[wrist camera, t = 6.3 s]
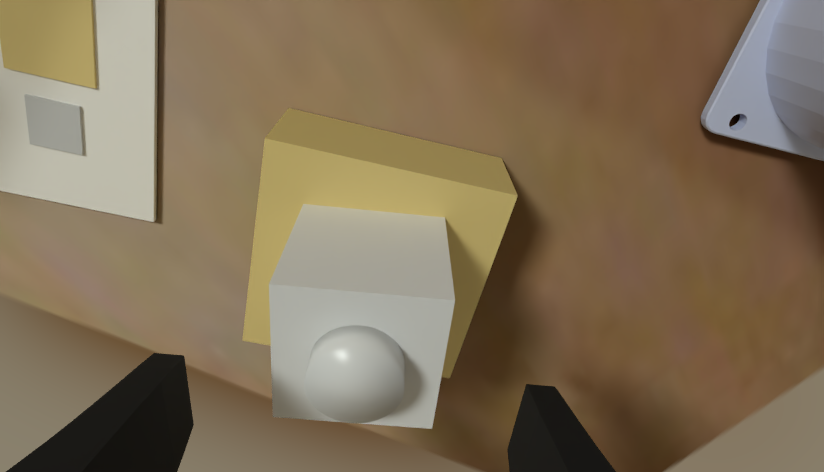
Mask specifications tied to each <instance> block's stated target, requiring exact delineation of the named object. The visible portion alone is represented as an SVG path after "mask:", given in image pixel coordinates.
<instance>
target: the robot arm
mask: <svg viewBox="0 0 824 472" xmlns="http://www.w3.org/2000/svg"><path fill="white" fill-rule="evenodd" d="M737 114H740V118H739V121H738V122H737V123H736V124H735V125H733V126H731V127H730V126H729V122H730V120H731V119H732V117H733V116H735V115H737ZM701 124H702V125H703V127H704V128H705V129H707V130H709V131H711V132H712V133H715V134H719V135H722V136H726V137H730V138H734V139H738V140H742V141H746V142H750V143H754V144H758V145H762V146H766V147H770V148H774V149H778V150H782V151H786V152H789V153H793V154H797V155H801V156H805V157H809V158H813V159H817V160H821V161H824V0H760V2H759V3H758V5H757V7H756V9H755V11H754V13H753V15H752V17H751V19H750V21H749V23H748V25H747V27H746V29H745V31H744V33H743V34H742V36H741V38H740V40H739V42H738V44H737V46H736V48H735V50H734V52H733V54H732V56H731V58H730V60H729V62H728V64H727V65H726V67H725V69H724V71H723V73H722V75H721V77H720V79H719V81H718V83H717V85H716V87H715V89H714V91H713V93H712V95H711V96H710V98H709V100H708V102H707V104H706V106H705V108H704V110H703V112H702V116H701ZM192 428H193V417H192V410H191V403H190V396H189V388H188V381H187V374H186V366H185V359H184V356H182V355H171V354H159V353H154V354H153V355H151V356H150V357H149V358H147V360H145V361H144V362H143V363H141V364H140V365H139V366H138V367H137V368H136V369H134V370H133V371H132V372H131V373H129V374H128V375H127V376H126V377H125V378H124V379H123V380H121V381H120V382H119V383H118V384H116V385H115V386H114V387H113V388H112V389H111V390H109V391H108V392H107V393H106V394H105V395H103V396H102V397H101V398H100V399H99V400H98V401H96V402H95V403H94V404H93V405H91V406H90V407H89V408H88V409H86V410H85V411H84V412H83V413H81V414H80V415H79V416H78V417H77V418H76V419H74V420H73V421H72V422H71V423H69V424H68V425H67V426H65V427H64V428H63V429H62V430H60V431H59V432H58V433H57V434H55V435H54V436H53V437H52V438H50V439H49V440H48V441H47V442H45V443H44V444H42V445H41V446H40V447H38V448H37V449H36V450H34V451H33V452H32V453H31V454H29V455H28V456H26V457H25V458H24V459H22V460H21V461H20V462H18V463H17V464H16V465H14V466H13V467H12V468H10V469H9V470H8V471H6V472H177V471H178V468H179V465H180V462H181V459H182V457H183V454H184V451H185V448H186V445H187V443H188V440H189V437H190V434H191V431H192ZM508 459H509V470H510V472H616V471H615V470H614V469H613V467H612V466H611V465H610V463H609V462H608V461H607V459H606V458H605V457H604V455H603V454H602V453H601V451H600V450H599V449H598V447H597V446H596V445H595V443H594V442H593V440H592V439H591V438H590V436H589V435H588V433H587V432H586V430H585V429H584V428H583V426H582V425H581V423H580V422H579V421H578V419H577V418H576V416H575V415H574V413H573V412H572V410H571V409H570V408H569V406H568V405H567V403H566V402H565V400H564V399H563V397H562V396H561V395H560V393H559V392H558V390H557V389H556V388H555V387H553V386H541V385H529V384H526V387H525V391H524V394H523V398H522V401H521V405H520V408H519V412H518V415H517V418H516V422H515V425H514V429H513V432H512V436H511V439H510V443H509V446H508Z"/></svg>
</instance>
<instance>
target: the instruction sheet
mask: <svg viewBox="0 0 824 472" xmlns="http://www.w3.org/2000/svg"><path fill="white" fill-rule="evenodd" d="M157 70H158V0H0V191H4V192H9V193H14V194H19V195H24V196H29V197H33V198H38V199H43V200H48V201H53V202H58V203H63V204H68V205H73V206H77V207H82V208H87V209H92V210H97V211H102V212H107V213H112V214H117V215H121V216H126V217H131V218H136V219H141V220H146V221H151V222H154V221H155V220H156V195H157Z"/></svg>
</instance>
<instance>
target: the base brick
mask: <svg viewBox="0 0 824 472" xmlns="http://www.w3.org/2000/svg"><path fill="white" fill-rule="evenodd" d="M517 197H518V195H517V193H516V190H515V188H514V186H513V183H512V181H511V179H510V177H509V174H508V172H507V170H506V167H505V165H504V163H503V160H502V158H499V157H495V156H490V155H486V154H482V153H478V152H473V151H469V150H465V149H461V148H456V147H452V146H448V145H444V144H439V143H435V142H431V141H427V140H422V139H418V138H414V137H410V136H405V135H401V134H397V133H393V132H388V131H384V130H380V129H376V128H371V127H367V126H363V125H359V124H354V123H350V122H346V121H342V120H338V119H333V118H329V117H325V116H321V115H316V114H312V113H308V112H304V111H299V110H295V109H291V108H288V110H287V111H286V112H285V113H284V115H283V116H282V117H281V118H280V120H279V121H278V122H277V124H276V125H275V126H274V127H273V129H272V130H271V131H270V132H269V134H268V135H267V136H266V138H265V142H264V151H263V160H262V169H261V178H260V187H259V196H258V205H257V214H256V223H255V232H254V241H253V250H252V259H251V268H250V277H249V286H248V295H247V304H246V313H245V322H244V331H243V341H248V342H254V343H259V344H265V345H270V346H271V337H270V304H269V283H270V280H271V278H272V276H273V273H274V271H275V269H276V266H277V264H278V262H279V259H280V257H281V255H282V252H283V250H284V248H285V245H286V243H287V241H288V238H289V236H290V234H291V231H292V229H293V227H294V224H295V222H296V220H297V217H298V215H299V213H300V210H301V208H302V206H303V204H310V205H320V206H331V207H341V208H352V209H362V210H372V211H383V212H393V213H404V214H414V215H424V216H435V217H445V223H446V231H447V239H448V247H449V255H450V263H451V271H452V279H453V287H454V295H455V304H454V310H453V315H452V321H451V326H450V332H449V337H448V343H447V349H446V354H445V360H444V365H443V371H442V376H441V377H445V378H450V376H451V374H452V371H453V368H454V366H455V363H456V360H457V358H458V355H459V352H460V350H461V347H462V344H463V342H464V339H465V336H466V333H467V331H468V328H469V325H470V323H471V320H472V317H473V315H474V312H475V309H476V307H477V304H478V301H479V299H480V296H481V293H482V291H483V288H484V285H485V283H486V280H487V277H488V275H489V272H490V269H491V267H492V264H493V261H494V258H495V256H496V253H497V250H498V248H499V245H500V242H501V240H502V237H503V234H504V232H505V229H506V226H507V224H508V221H509V218H510V216H511V213H512V210H513V208H514V205H515V202H516V200H517Z"/></svg>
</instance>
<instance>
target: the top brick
mask: <svg viewBox="0 0 824 472" xmlns="http://www.w3.org/2000/svg"><path fill="white" fill-rule="evenodd" d="M269 304H270V337H271V370H272V403H273V417H281V418H295V419H309V420H321V421H335V422H347V423H362V424H375V425H388V426H402V427H415V428H428V429H432V426H433V421H434V415H435V410H436V404H437V399H438V393H439V388H440V382H441V376H442V371H443V365H444V360H445V354H446V349H447V343H448V337H449V332H450V326H451V321H452V315H453V310H454V304H455V295H454V287H453V279H452V271H451V263H450V255H449V247H448V239H447V231H446V223H445V217H435V216H424V215H414V214H404V213H393V212H383V211H372V210H362V209H352V208H341V207H331V206H320V205H310V204H303V206H302V208H301V210H300V213H299V215H298V217H297V220H296V222H295V224H294V227H293V229H292V231H291V234H290V236H289V238H288V241H287V243H286V245H285V248H284V250H283V252H282V255H281V257H280V259H279V262H278V264H277V266H276V269H275V271H274V273H273V276H272V278H271V280H270V283H269Z"/></svg>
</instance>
